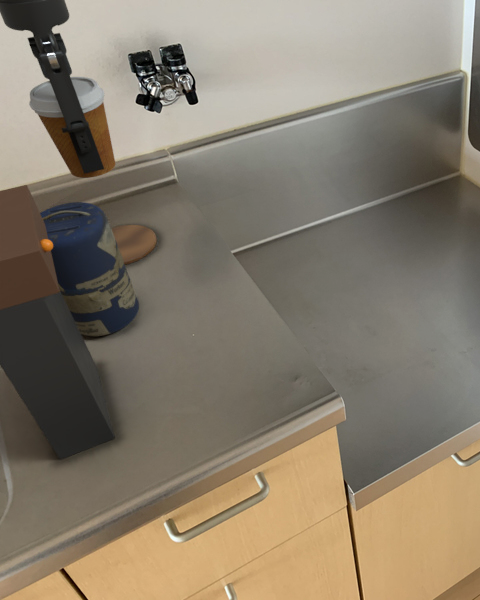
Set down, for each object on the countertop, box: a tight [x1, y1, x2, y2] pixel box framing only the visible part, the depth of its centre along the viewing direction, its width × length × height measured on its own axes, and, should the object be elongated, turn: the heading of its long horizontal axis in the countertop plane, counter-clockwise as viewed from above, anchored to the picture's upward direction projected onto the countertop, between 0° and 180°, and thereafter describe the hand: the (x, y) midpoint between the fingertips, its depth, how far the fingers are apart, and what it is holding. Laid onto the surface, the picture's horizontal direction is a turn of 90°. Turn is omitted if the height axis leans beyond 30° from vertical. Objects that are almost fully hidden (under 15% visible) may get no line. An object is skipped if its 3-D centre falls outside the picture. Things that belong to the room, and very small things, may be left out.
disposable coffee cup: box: [28, 76, 116, 179], centre depth 87 cm, size 10×10×12 cm
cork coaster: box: [111, 224, 158, 266], centre depth 100 cm, size 11×11×1 cm
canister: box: [40, 201, 140, 337], centre depth 81 cm, size 10×10×18 cm
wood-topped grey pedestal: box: [0, 184, 116, 460], centre depth 67 cm, size 8×13×27 cm, turn 29°
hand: (89, 156), depth 90 cm, fingers closed on disposable coffee cup, 8 cm apart
